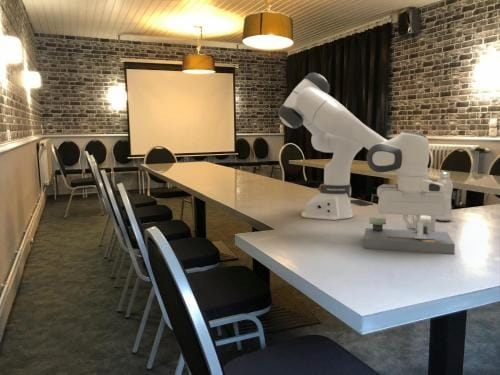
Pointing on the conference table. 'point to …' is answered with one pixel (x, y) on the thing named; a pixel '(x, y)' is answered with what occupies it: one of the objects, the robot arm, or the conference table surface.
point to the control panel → (407, 240)
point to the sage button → (377, 220)
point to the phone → (360, 202)
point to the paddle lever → (419, 231)
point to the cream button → (424, 218)
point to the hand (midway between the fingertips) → (411, 228)
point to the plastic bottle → (448, 192)
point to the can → (428, 224)
